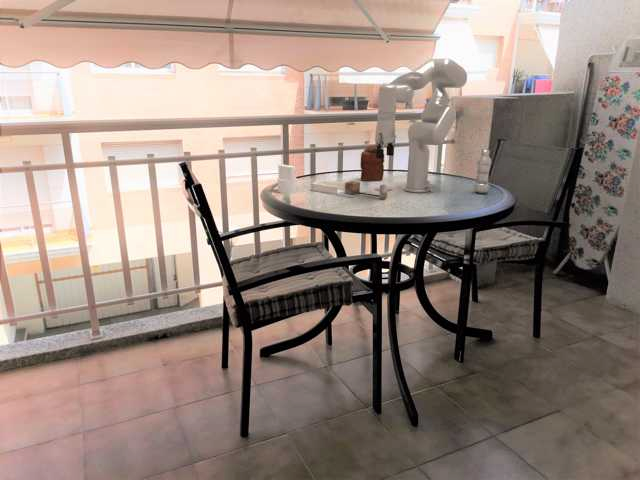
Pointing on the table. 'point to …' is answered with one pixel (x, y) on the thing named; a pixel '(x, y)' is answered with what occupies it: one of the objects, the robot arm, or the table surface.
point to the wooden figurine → (371, 165)
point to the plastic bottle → (482, 172)
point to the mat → (348, 194)
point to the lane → (328, 187)
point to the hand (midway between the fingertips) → (384, 156)
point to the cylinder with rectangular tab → (287, 179)
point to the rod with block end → (354, 189)
